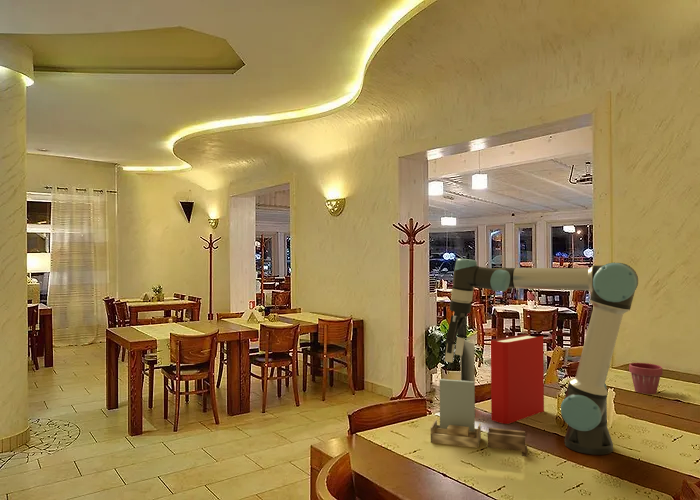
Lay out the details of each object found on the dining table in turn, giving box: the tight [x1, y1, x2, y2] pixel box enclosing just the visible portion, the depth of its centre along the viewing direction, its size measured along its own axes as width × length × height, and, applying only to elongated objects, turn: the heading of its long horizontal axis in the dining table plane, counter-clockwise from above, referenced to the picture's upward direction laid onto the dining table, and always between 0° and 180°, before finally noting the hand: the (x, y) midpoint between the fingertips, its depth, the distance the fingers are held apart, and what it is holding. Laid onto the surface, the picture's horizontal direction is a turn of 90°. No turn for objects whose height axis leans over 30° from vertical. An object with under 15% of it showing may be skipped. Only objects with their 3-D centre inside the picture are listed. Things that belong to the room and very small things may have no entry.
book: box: [490, 333, 545, 425], centre depth 215 cm, size 27×8×32 cm, turn 129°
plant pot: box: [628, 362, 663, 395], centre depth 252 cm, size 14×14×13 cm
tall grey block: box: [459, 339, 476, 398], centre depth 220 cm, size 14×6×30 cm, turn 168°
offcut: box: [447, 425, 469, 437], centre depth 180 cm, size 7×4×2 cm, turn 71°
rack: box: [430, 418, 482, 449], centre depth 182 cm, size 16×10×6 cm, turn 71°
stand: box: [487, 427, 528, 457], centre depth 176 cm, size 13×8×6 cm, turn 71°
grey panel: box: [439, 378, 476, 432], centre depth 185 cm, size 12×2×20 cm, turn 71°
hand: (453, 358), depth 191 cm, fingers open, 13 cm apart
